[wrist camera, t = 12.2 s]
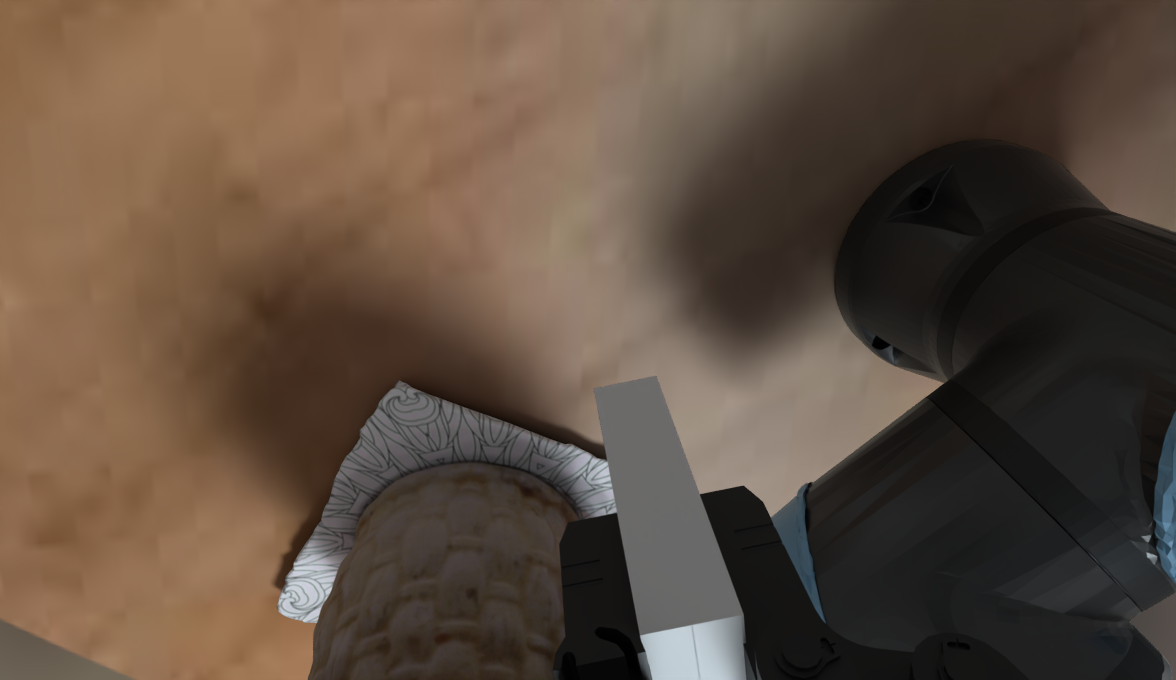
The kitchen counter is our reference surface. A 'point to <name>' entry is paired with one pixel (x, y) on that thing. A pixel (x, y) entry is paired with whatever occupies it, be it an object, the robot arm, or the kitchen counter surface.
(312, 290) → the kitchen counter surface
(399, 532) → the cookie jar
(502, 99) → the kitchen counter surface
